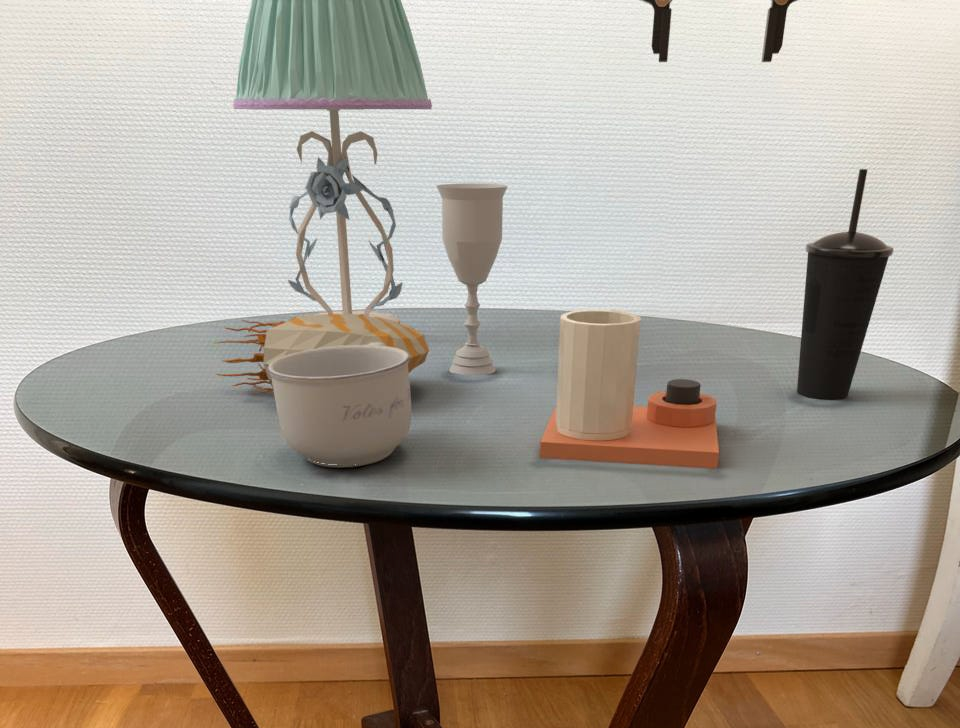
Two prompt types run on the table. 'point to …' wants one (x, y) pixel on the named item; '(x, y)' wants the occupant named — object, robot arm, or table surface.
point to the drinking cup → (838, 305)
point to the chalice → (472, 256)
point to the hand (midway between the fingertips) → (714, 61)
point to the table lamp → (332, 101)
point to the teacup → (343, 402)
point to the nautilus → (328, 339)
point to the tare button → (683, 392)
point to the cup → (596, 374)
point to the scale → (649, 437)
